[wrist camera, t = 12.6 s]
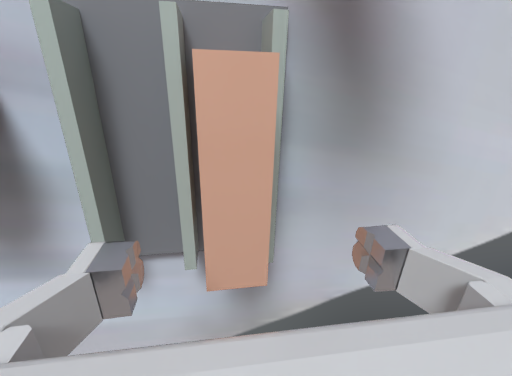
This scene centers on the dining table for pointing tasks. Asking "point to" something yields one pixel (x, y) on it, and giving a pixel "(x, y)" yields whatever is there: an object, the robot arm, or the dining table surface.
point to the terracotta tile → (236, 162)
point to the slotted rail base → (145, 108)
